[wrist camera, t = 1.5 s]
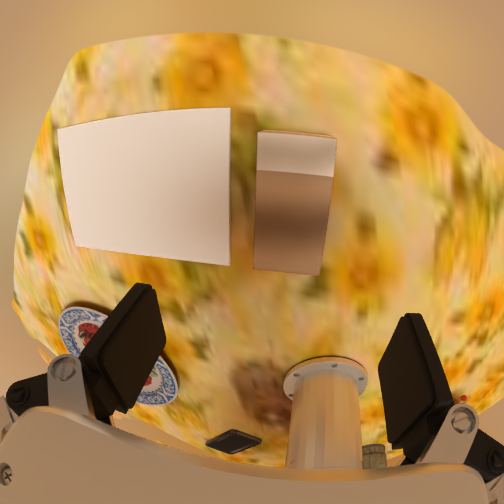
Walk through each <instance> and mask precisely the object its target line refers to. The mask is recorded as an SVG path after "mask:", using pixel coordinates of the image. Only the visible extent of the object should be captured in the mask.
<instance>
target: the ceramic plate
mask: <svg viewBox="0 0 504 504" xmlns="http://www.w3.org/2000/svg"><path fill="white" fill-rule="evenodd" d="M107 317H108V316H107V315H105V314H103V313H101V312H98V311H96V310H93V309H90V308H85V307H69V308H67V309H65V310H64V311H63V312H62V313H61V314H60V316H59V321H58V327H59V332H60V335H61V338H62V341H63V343H64V345H65V346H66V348H67V350H68V351H69V353H70V354H72V355H74V356H76V357H77V358H78V357H79V356H80V355H81V354H80V353H81V351H82V350H83V349H84V347H85V346H86V345H87V343H88V342H89V341H90V339H91V338H92V337H93V335H94V334H95V333H96V331H97V330H98V329H99V328H100V326H101V325H102V324H103V322H104V321H105V320H106V319H107ZM177 394H178V384H177V381H176V378H175V376H174V374H173V372H172V371H171V369H170V367H169V366H168V365H167V363H166V362H165V361H164V360H163V358H162V357H161V356H159V358H158V360H157V362H156V364H155V366H154V367H153V369H152V371H151V373H150V375H149V377H148V379H147V381H146V383H145V385H144V387H143V389H142V391H141V393H140V395H139V397H138V399H137V401H136V402H137V403H141V404H146V405H165V404H168V403H171V402H172V401H173V400H174V399H175V398H176V396H177Z"/></svg>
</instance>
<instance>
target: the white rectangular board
mask: <svg viewBox="0 0 504 504" xmlns="http://www.w3.org/2000/svg"><path fill="white" fill-rule="evenodd" d="M231 110H232V108H198V109H181V110H169V111H158V112H149V113H141V114H133V115H126V116H120V117H114V118H108V119H102V120H97V121H92V122H87V123H82V124H78V125H73V126H69V127H65V128H61V129H58V142H59V154H60V163H61V171H62V179H63V186H64V192H65V198H66V203H67V209H68V214H69V219H70V224H71V228H72V232H73V237H74V241H75V245H76V246H79V247H86V248H93V249H100V250H108V251H115V252H123V253H130V254H138V255H145V256H153V257H161V258H169V259H177V260H185V261H193V262H201V263H210V264H218V265H227V266H229V265H230V263H231V244H230V180H231Z"/></svg>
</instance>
